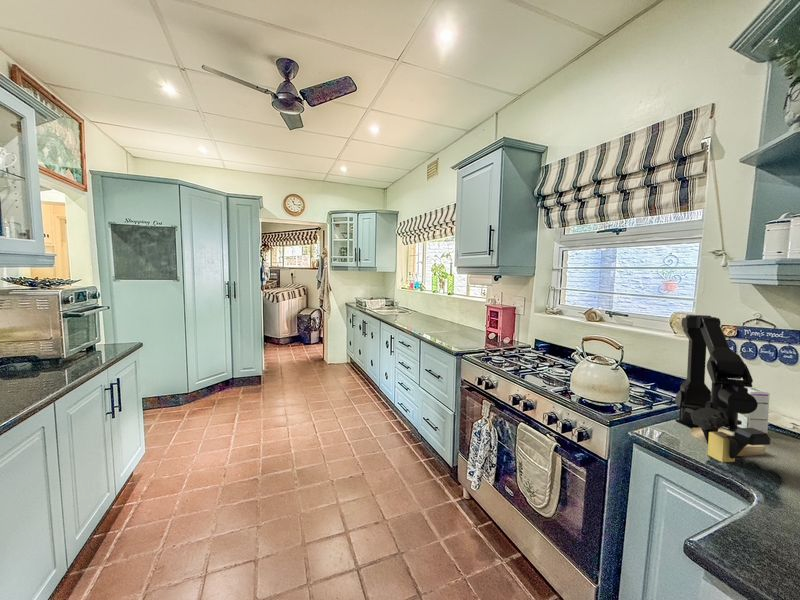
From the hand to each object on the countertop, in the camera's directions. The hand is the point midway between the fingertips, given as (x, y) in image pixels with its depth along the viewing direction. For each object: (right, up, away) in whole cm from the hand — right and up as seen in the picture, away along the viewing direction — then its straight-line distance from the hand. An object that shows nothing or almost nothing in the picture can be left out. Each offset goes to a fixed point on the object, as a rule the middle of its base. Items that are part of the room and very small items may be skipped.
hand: (721, 453), depth 94 cm
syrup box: (+28, -1, +17) cm, 33 cm away
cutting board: (+9, -1, +8) cm, 12 cm away
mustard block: (0, -2, 0) cm, 2 cm away
